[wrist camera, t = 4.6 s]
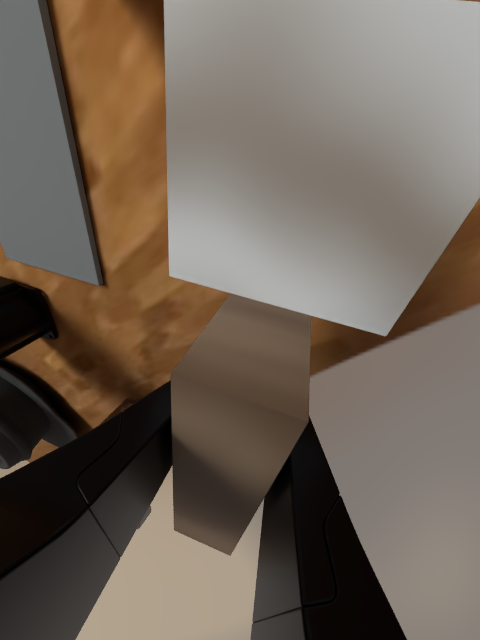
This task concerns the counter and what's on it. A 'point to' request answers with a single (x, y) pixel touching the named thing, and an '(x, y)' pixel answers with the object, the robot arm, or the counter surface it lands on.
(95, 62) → the counter surface
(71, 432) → the casserole
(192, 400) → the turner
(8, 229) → the rest mat
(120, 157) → the counter surface
